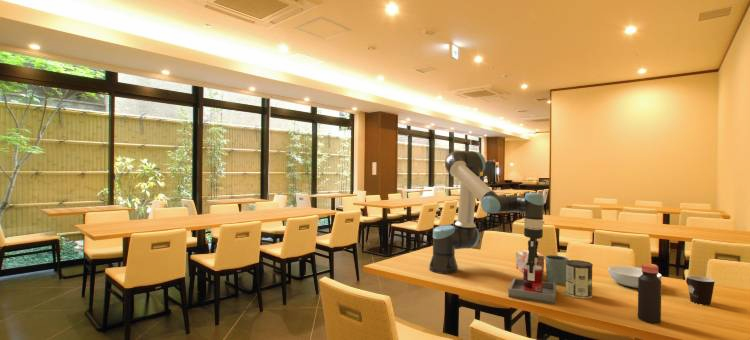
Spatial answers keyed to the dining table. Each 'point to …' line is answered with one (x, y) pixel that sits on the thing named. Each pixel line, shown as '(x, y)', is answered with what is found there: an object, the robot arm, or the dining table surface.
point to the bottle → (649, 294)
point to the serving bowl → (627, 275)
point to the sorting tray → (546, 295)
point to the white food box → (523, 259)
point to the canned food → (533, 285)
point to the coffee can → (579, 279)
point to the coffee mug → (700, 289)
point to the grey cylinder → (556, 269)
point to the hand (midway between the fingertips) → (532, 276)
